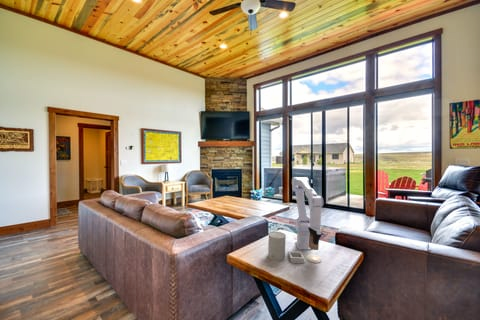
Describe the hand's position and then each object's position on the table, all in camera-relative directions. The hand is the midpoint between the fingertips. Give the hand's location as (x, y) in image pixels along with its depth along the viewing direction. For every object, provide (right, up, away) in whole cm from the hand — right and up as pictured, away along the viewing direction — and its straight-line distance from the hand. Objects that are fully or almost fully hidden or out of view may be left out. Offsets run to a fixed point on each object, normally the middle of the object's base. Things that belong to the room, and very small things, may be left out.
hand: (314, 242), depth 115 cm
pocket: (-10, -9, 0) cm, 14 cm away
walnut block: (0, -3, 0) cm, 3 cm away
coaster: (0, -9, 0) cm, 10 cm away
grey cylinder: (-21, -9, +3) cm, 23 cm away
